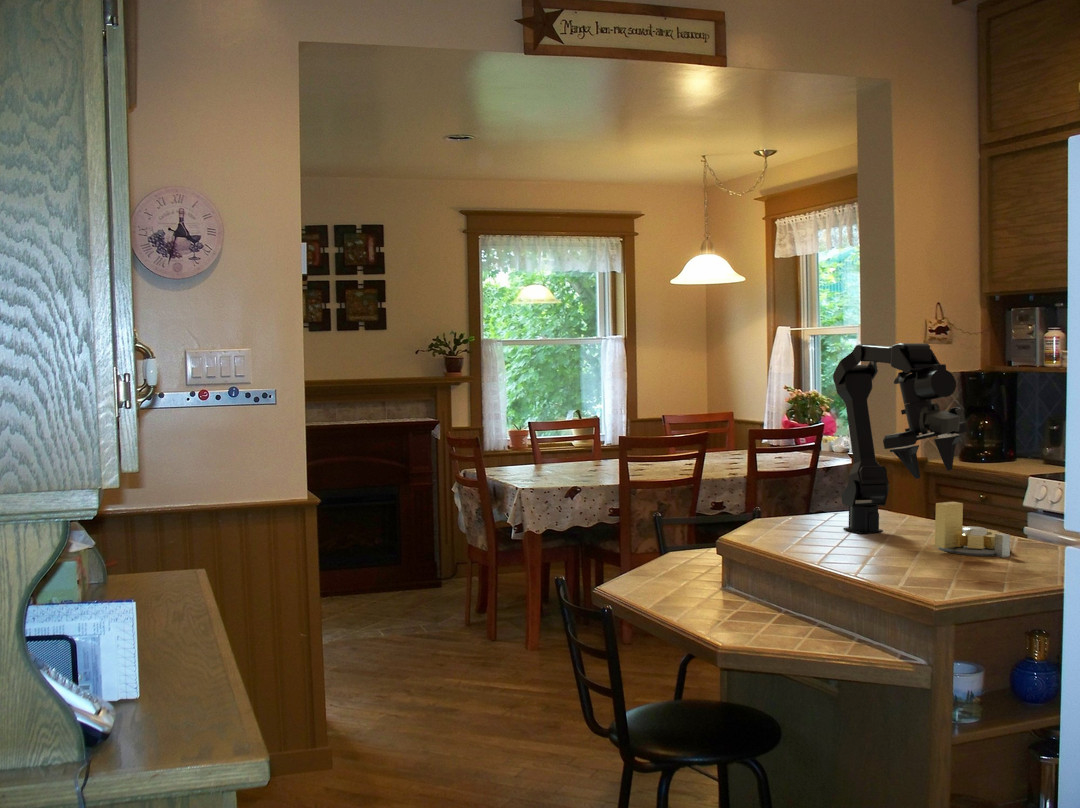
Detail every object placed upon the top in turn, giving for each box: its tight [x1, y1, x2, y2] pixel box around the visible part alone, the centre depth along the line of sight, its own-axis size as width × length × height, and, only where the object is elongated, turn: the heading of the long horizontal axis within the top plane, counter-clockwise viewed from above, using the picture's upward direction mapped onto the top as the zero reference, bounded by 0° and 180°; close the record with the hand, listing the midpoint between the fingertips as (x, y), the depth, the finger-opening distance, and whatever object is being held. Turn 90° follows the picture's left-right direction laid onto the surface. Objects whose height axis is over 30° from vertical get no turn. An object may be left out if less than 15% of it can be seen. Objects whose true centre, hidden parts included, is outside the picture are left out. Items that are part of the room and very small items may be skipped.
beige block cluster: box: [934, 501, 1002, 549], centre depth 215 cm, size 11×16×9 cm
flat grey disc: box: [937, 525, 1011, 559], centre depth 216 cm, size 16×14×4 cm
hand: (933, 474), depth 217 cm, fingers open, 9 cm apart
